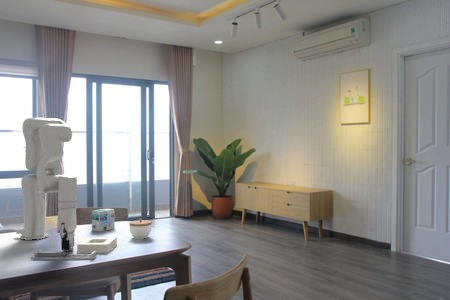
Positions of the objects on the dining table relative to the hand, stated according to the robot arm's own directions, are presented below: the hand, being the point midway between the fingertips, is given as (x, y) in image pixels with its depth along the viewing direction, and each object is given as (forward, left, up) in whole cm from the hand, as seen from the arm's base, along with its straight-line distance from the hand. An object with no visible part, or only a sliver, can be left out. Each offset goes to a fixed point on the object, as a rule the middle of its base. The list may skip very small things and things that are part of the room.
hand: (67, 247), depth 171 cm
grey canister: (0, 0, -2) cm, 2 cm away
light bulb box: (0, +48, -2) cm, 48 cm away
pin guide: (+2, -10, -2) cm, 10 cm away
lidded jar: (+25, +27, -2) cm, 37 cm away
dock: (+11, +5, -2) cm, 12 cm away
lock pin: (-4, -10, -2) cm, 11 cm away
